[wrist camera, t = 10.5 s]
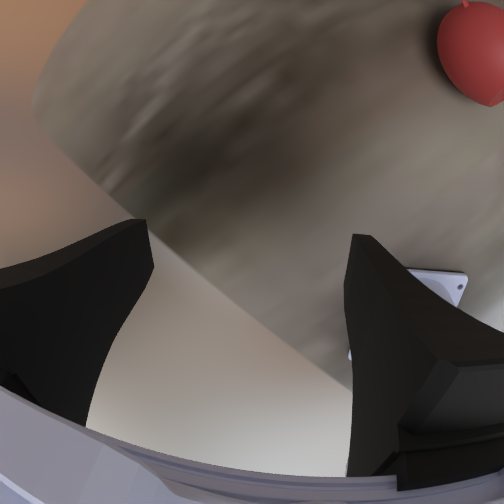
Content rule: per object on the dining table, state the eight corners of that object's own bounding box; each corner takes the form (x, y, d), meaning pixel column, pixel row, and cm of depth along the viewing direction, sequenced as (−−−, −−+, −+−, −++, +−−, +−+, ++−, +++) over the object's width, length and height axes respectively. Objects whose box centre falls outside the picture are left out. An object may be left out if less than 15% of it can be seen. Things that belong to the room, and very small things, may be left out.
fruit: (472, 19, 12) (482, -59, 5) (529, 85, 12) (572, 24, 4) (410, 54, 15) (401, -26, 8) (468, 126, 14) (500, 68, 7)
